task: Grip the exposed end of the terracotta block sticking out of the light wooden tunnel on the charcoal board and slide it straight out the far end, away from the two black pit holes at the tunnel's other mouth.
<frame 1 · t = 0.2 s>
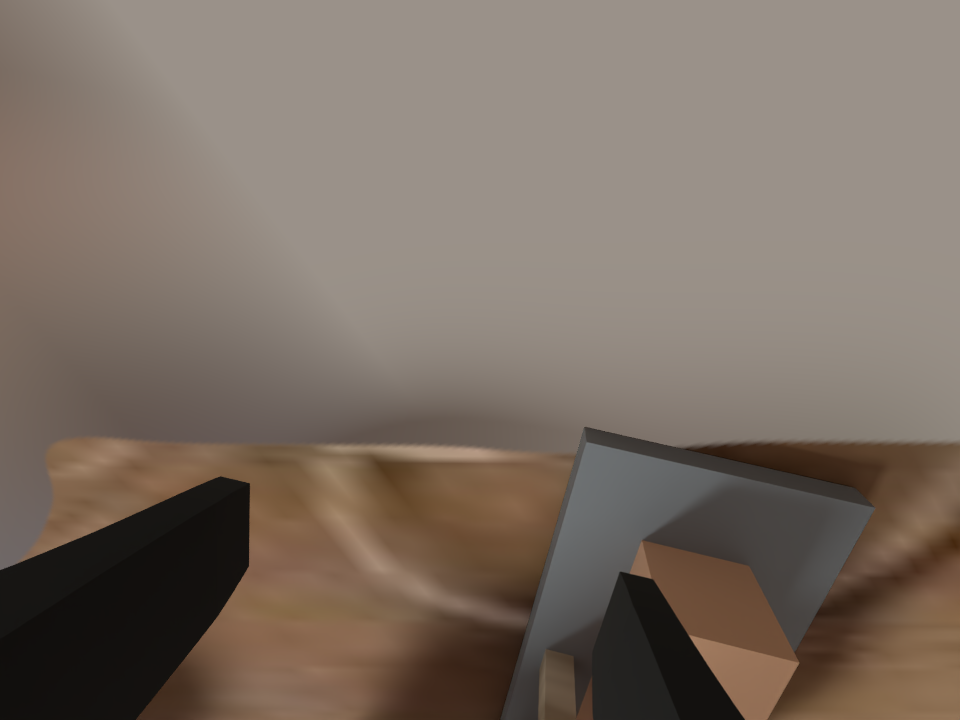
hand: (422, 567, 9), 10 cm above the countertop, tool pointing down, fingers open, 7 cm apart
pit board: (636, 657, 22), on the countertop
terracotta block: (651, 657, 20), point 1 cm above the countertop, touching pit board
wooden tunnel: (620, 695, 23), resting on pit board
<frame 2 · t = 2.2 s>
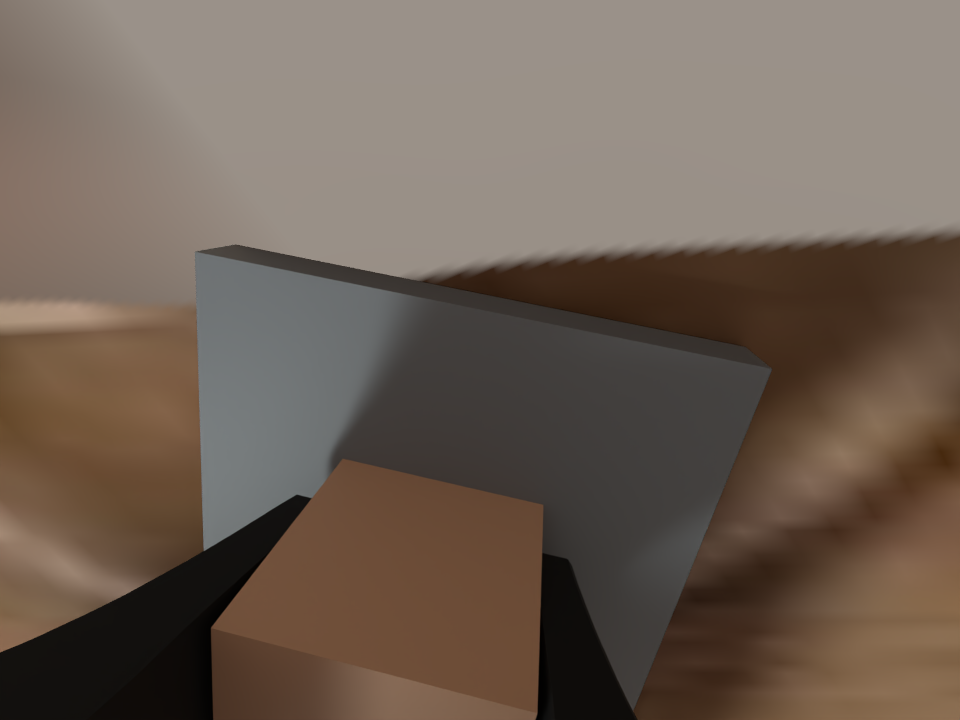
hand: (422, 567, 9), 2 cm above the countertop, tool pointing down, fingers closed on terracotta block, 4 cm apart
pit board: (413, 677, 13), on the countertop
terracotta block: (407, 680, 11), point 1 cm above the countertop, touching gripper, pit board
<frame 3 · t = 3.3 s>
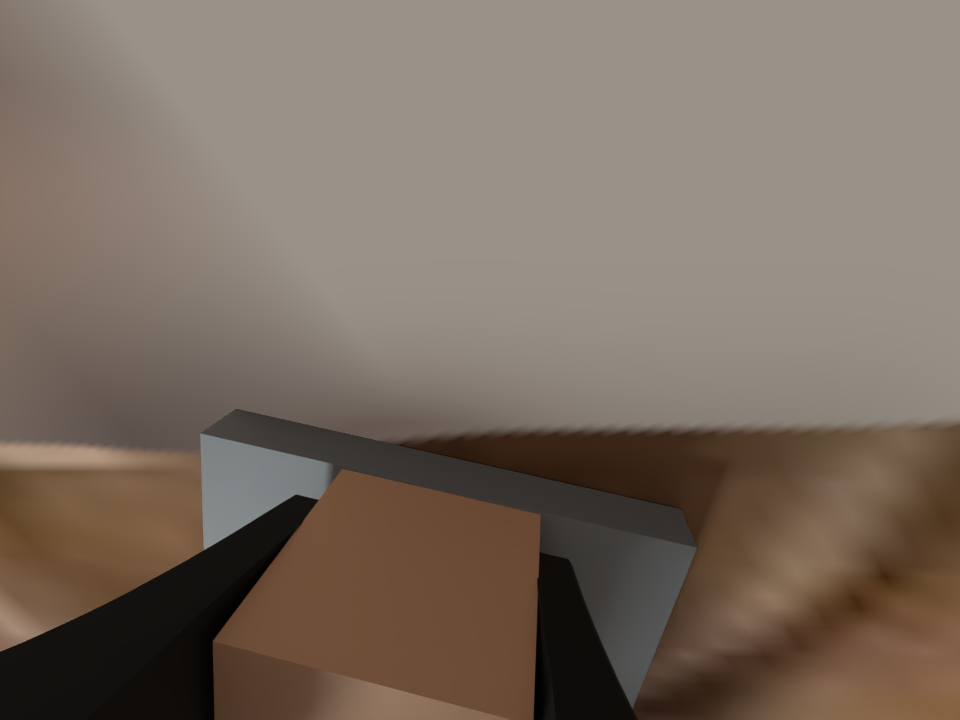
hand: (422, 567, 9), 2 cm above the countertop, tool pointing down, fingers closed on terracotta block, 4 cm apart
terracotta block: (406, 687, 12), point 1 cm above the countertop, touching gripper
when the fingers open (2 cm above the countertop, at t = 5.0 s): terracotta block stays where it is, resting on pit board.
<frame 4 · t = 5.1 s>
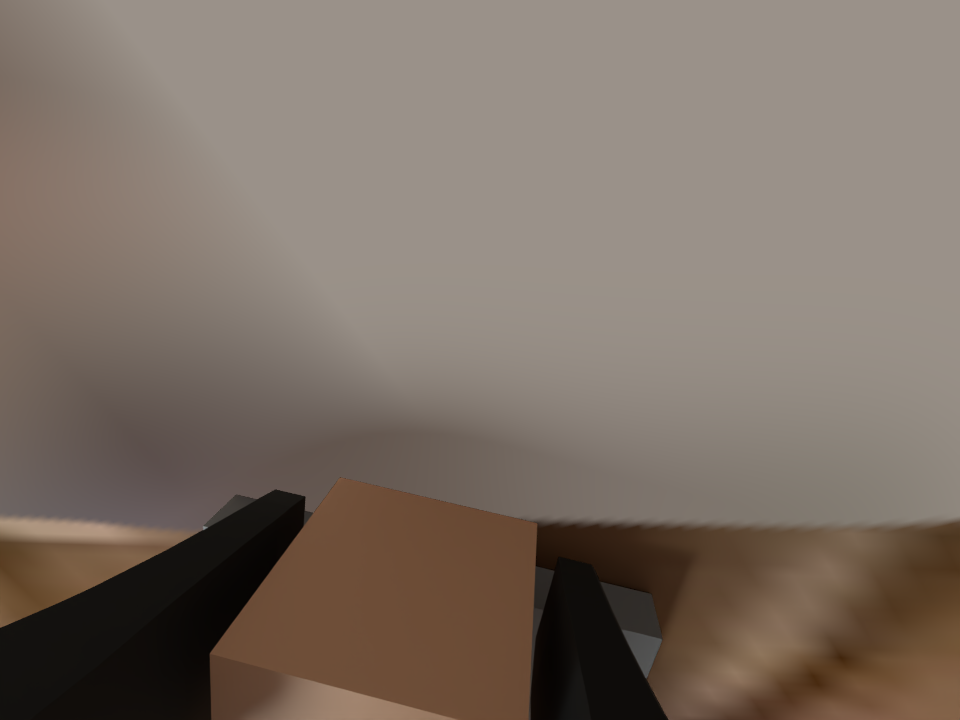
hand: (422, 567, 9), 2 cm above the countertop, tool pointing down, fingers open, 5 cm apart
terracotta block: (404, 693, 12), point 1 cm above the countertop, touching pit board
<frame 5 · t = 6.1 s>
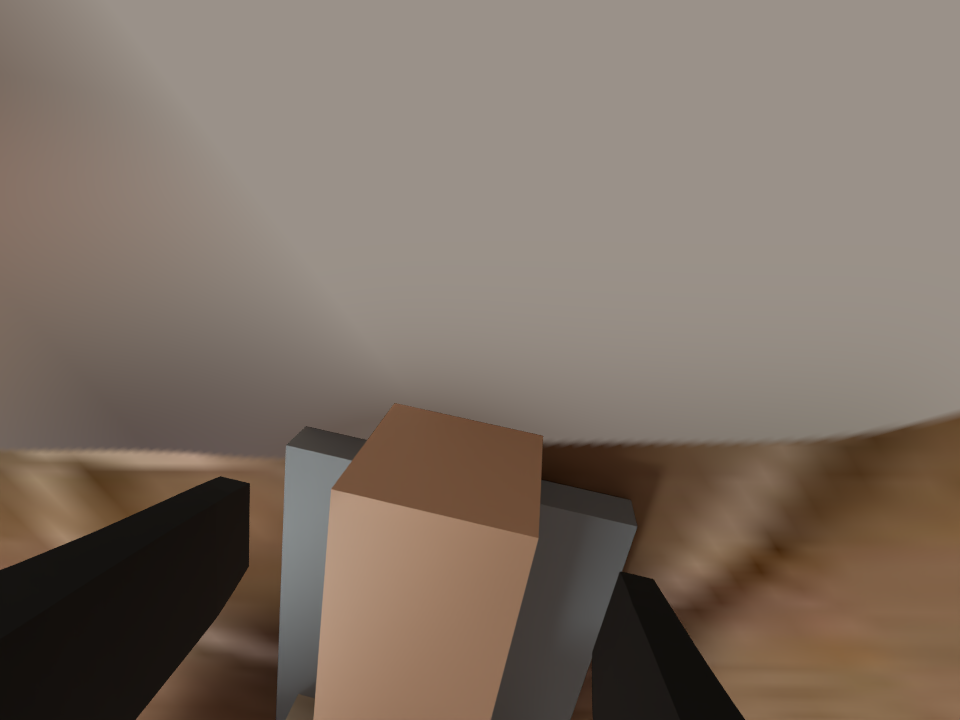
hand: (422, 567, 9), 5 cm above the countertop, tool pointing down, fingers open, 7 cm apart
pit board: (420, 701, 18), on the countertop
terracotta block: (438, 580, 15), point 1 cm above the countertop, touching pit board
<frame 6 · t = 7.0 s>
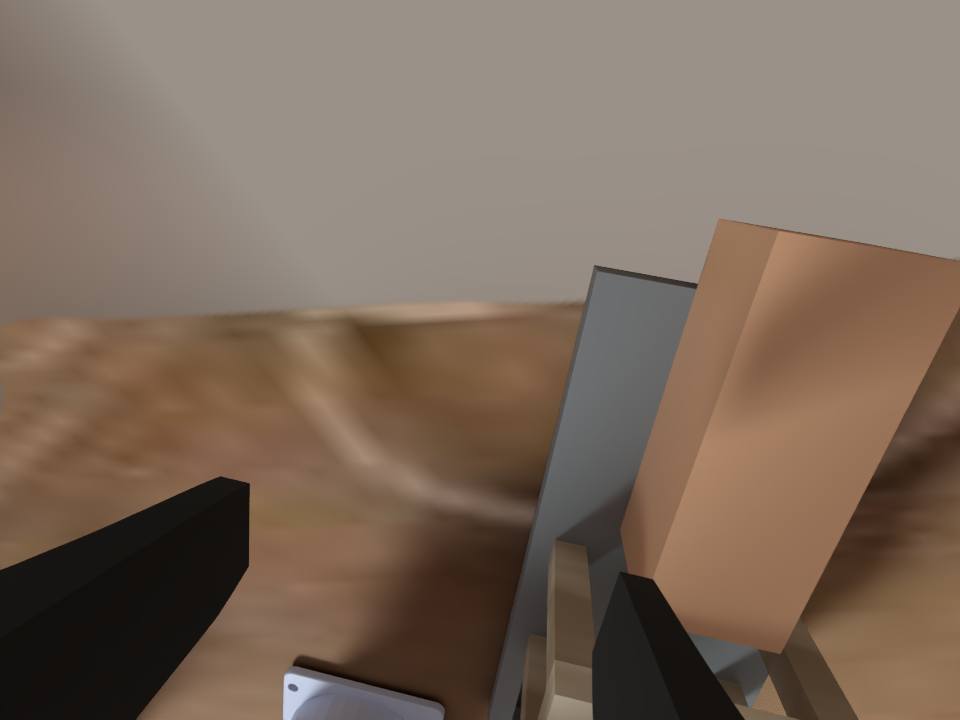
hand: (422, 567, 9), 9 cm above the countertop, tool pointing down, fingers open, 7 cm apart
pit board: (657, 553, 19), on the countertop
terracotta block: (726, 405, 16), point 1 cm above the countertop, touching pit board
wooden tunnel: (640, 600, 20), resting on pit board
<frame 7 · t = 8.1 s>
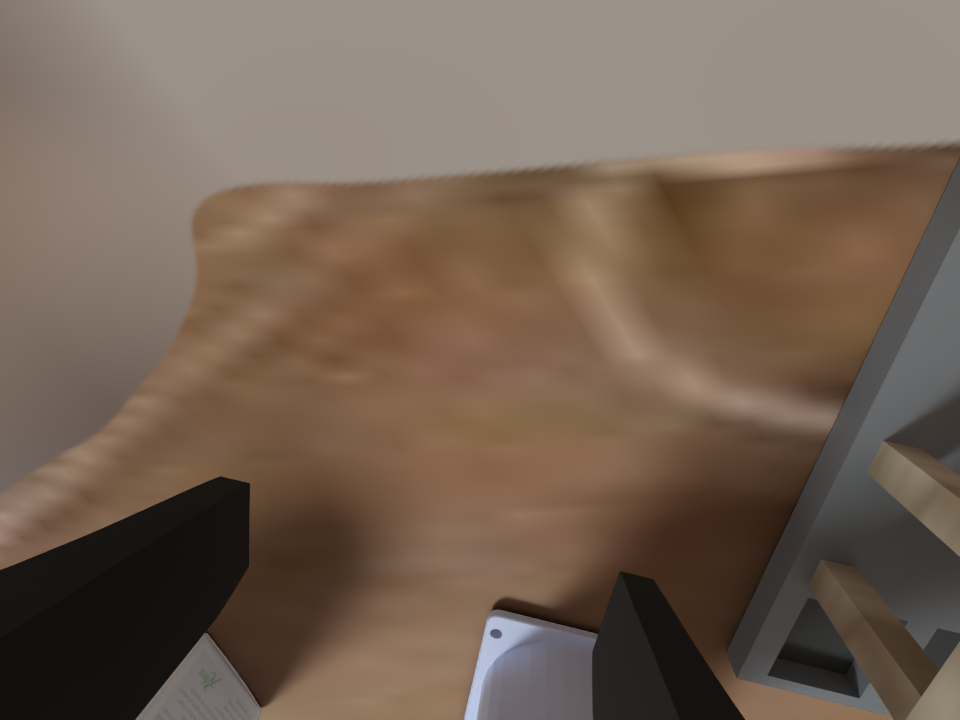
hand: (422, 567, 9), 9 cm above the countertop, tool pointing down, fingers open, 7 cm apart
wooden tunnel: (946, 523, 17), resting on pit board
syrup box: (199, 677, 26), on the countertop
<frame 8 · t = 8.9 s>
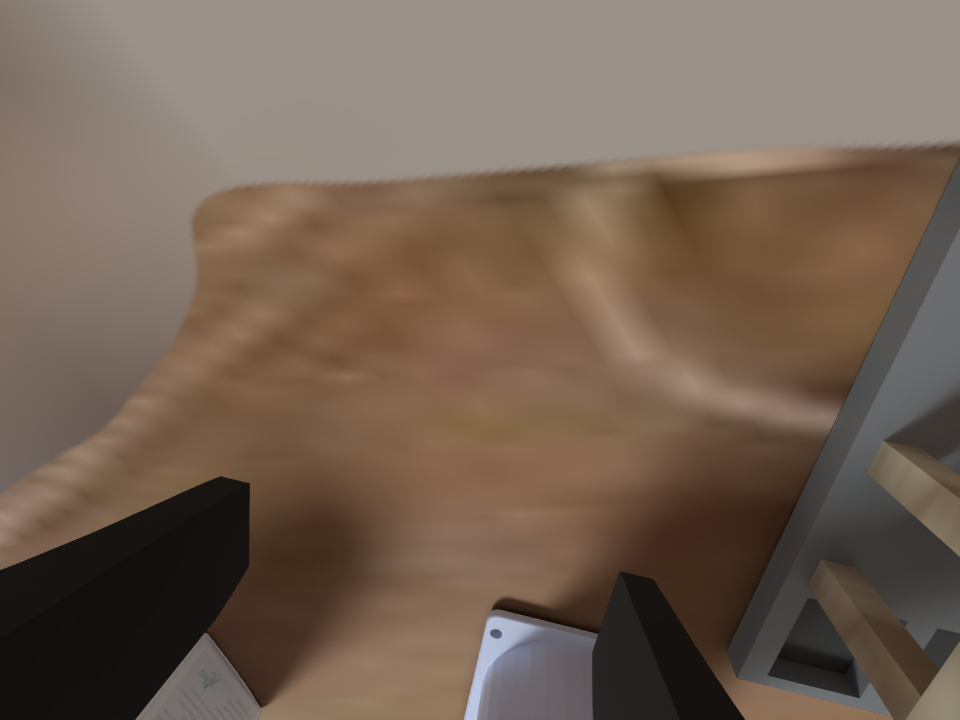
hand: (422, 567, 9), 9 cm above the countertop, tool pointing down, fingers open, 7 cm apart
wooden tunnel: (946, 523, 17), resting on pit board
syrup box: (199, 677, 26), on the countertop
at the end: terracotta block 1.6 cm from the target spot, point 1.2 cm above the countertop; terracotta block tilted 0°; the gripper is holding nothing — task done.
